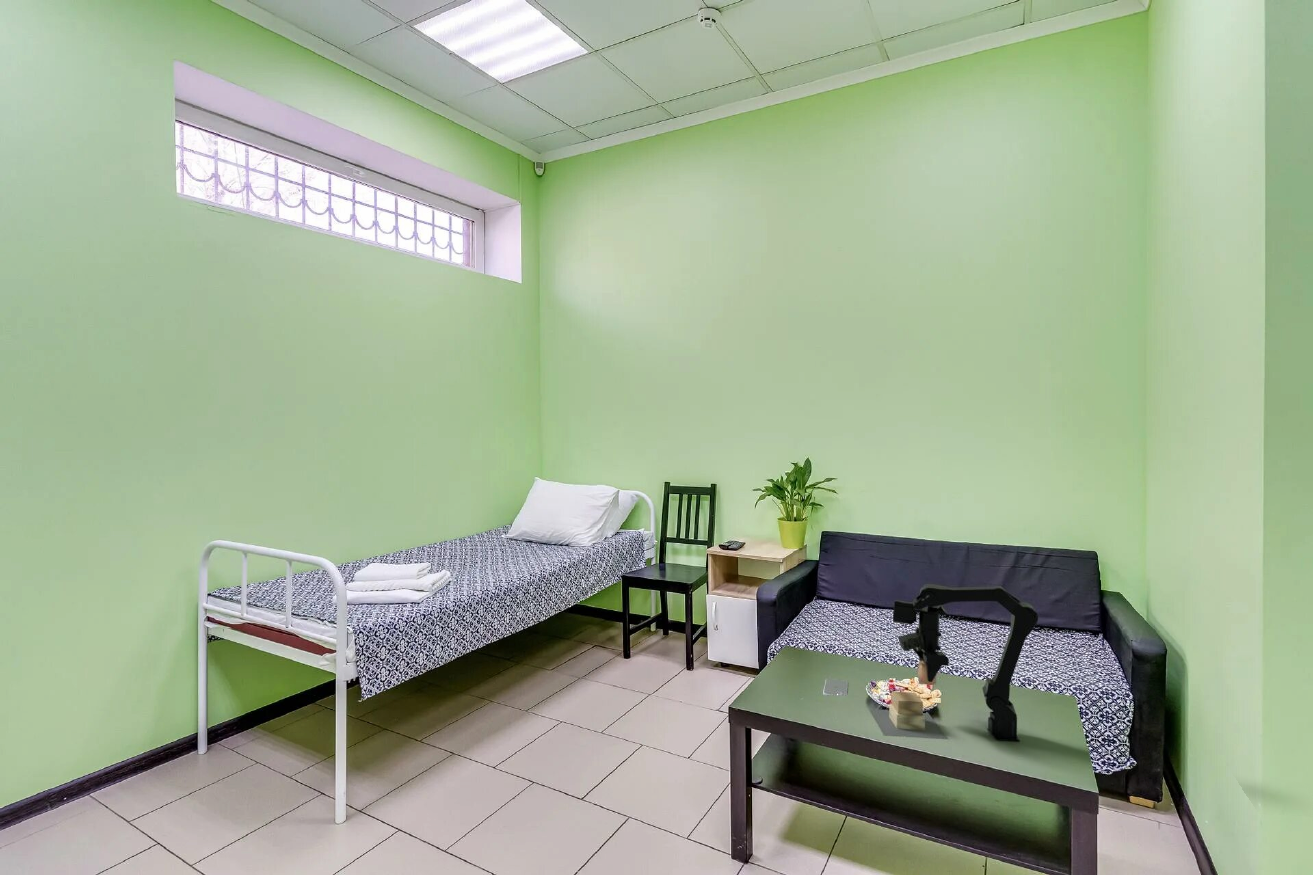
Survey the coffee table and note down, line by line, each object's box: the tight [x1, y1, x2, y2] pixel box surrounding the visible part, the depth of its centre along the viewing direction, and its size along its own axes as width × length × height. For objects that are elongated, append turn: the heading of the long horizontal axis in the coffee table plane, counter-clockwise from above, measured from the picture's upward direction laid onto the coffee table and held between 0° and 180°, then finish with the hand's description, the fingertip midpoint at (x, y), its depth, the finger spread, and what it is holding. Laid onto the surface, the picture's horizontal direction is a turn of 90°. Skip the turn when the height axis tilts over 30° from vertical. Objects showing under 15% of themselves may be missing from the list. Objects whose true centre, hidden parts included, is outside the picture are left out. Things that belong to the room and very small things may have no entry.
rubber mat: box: [868, 708, 949, 740], centre depth 188 cm, size 18×18×1 cm
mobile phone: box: [822, 678, 849, 697], centre depth 215 cm, size 8×1×15 cm
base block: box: [888, 703, 925, 730], centre depth 188 cm, size 8×8×4 cm
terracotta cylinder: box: [917, 661, 937, 686], centre depth 190 cm, size 5×5×6 cm
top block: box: [891, 691, 924, 716], centre depth 188 cm, size 7×7×4 cm
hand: (927, 678), depth 190 cm, fingers closed on terracotta cylinder, 5 cm apart
